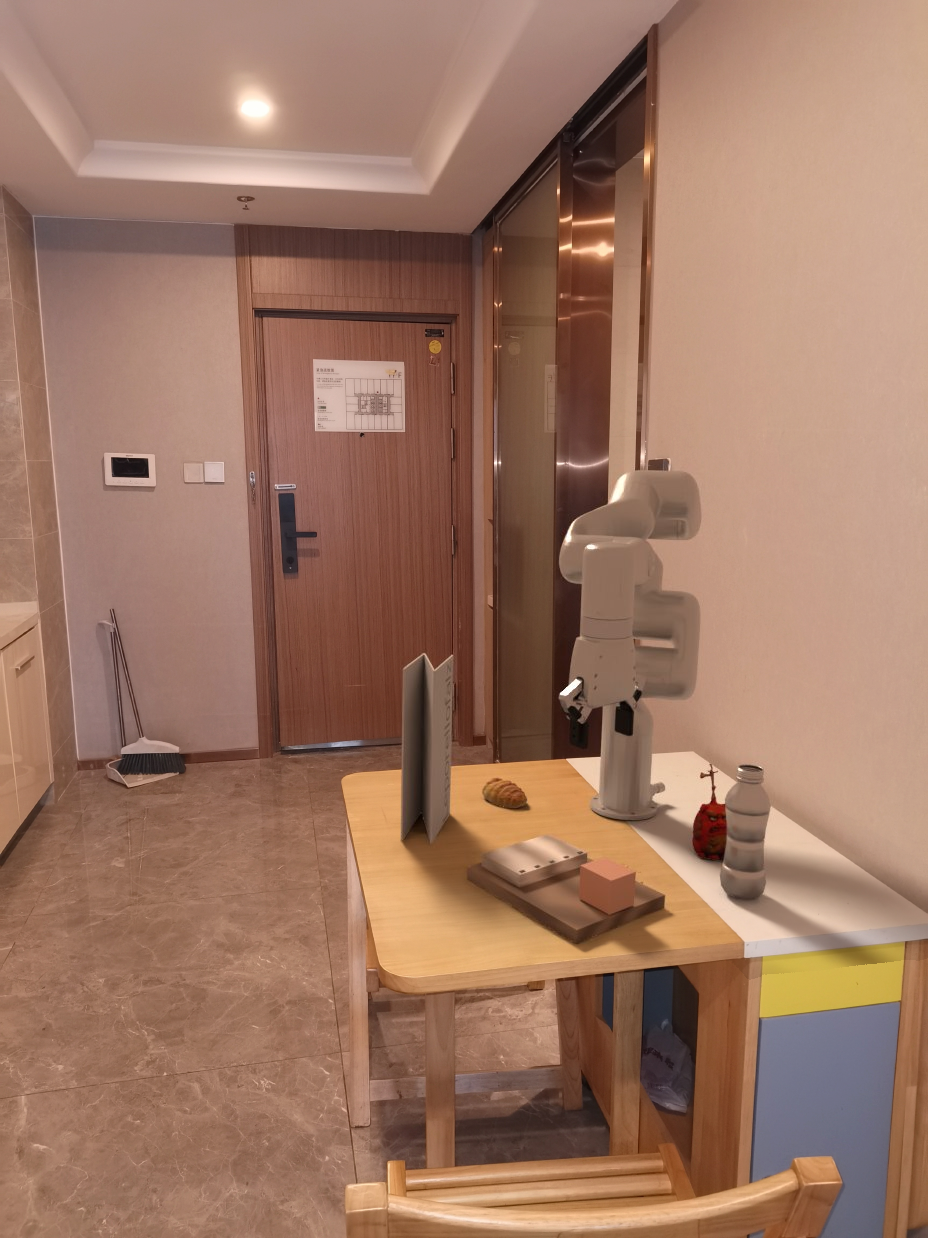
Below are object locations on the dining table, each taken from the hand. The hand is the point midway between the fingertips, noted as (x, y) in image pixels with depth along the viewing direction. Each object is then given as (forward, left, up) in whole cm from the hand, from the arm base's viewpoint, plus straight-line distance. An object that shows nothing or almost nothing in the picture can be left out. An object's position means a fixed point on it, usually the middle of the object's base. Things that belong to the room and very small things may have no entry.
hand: (601, 740), depth 134 cm
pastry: (-13, -37, -24) cm, 46 cm away
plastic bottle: (-17, +15, -24) cm, 32 cm away
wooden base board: (+5, -1, -23) cm, 24 cm away
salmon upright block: (+5, +7, -21) cm, 23 cm away
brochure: (+7, -34, -24) cm, 42 cm away
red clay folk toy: (-26, +3, -24) cm, 35 cm away
